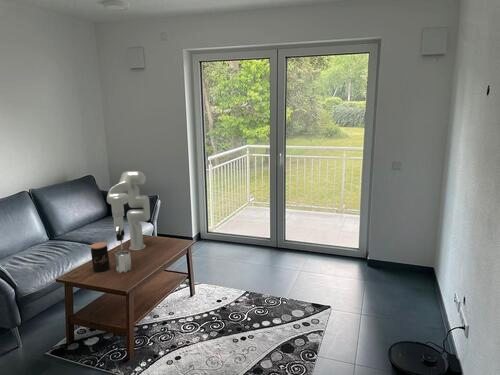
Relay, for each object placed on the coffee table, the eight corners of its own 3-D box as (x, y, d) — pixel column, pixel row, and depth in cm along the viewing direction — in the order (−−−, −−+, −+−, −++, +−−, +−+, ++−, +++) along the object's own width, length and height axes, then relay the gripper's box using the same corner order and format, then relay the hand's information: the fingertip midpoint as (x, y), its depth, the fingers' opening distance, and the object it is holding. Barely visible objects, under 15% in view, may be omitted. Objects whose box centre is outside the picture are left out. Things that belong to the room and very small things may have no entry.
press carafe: (119, 266, 266) (117, 250, 264) (132, 264, 268) (131, 249, 265) (115, 273, 255) (113, 256, 252) (130, 272, 256) (128, 255, 254)
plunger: (118, 253, 261) (116, 234, 258) (128, 253, 261) (126, 233, 258) (116, 257, 254) (114, 237, 251) (126, 256, 255) (124, 236, 252)
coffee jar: (94, 273, 255) (91, 248, 251) (92, 268, 264) (89, 243, 260) (110, 270, 260) (107, 245, 256) (108, 264, 269) (105, 241, 265)
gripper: (115, 211, 259) (117, 234, 263) (109, 217, 242) (112, 243, 246) (126, 210, 260) (128, 233, 264) (121, 217, 243) (124, 242, 247)
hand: (120, 238), depth 255 cm, fingers open, 9 cm apart
